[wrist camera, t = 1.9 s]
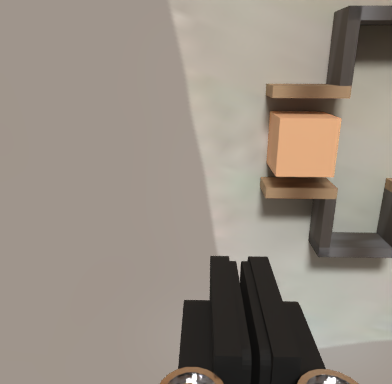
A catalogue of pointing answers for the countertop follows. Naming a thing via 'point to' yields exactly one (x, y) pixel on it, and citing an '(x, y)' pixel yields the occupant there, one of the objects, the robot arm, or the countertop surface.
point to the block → (303, 143)
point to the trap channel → (321, 187)
